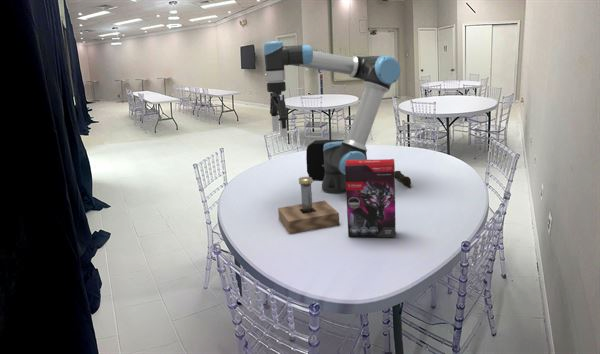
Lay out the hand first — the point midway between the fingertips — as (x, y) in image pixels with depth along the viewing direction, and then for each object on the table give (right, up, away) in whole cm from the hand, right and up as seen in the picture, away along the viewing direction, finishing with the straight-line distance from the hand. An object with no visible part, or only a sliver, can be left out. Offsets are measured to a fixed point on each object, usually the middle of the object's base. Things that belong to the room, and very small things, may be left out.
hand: (279, 133), depth 183 cm
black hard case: (+28, -19, +48) cm, 59 cm away
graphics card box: (+34, -39, -23) cm, 57 cm away
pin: (+12, -36, -9) cm, 39 cm away
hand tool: (+60, -21, +34) cm, 72 cm away
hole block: (+12, -36, -9) cm, 39 cm away
